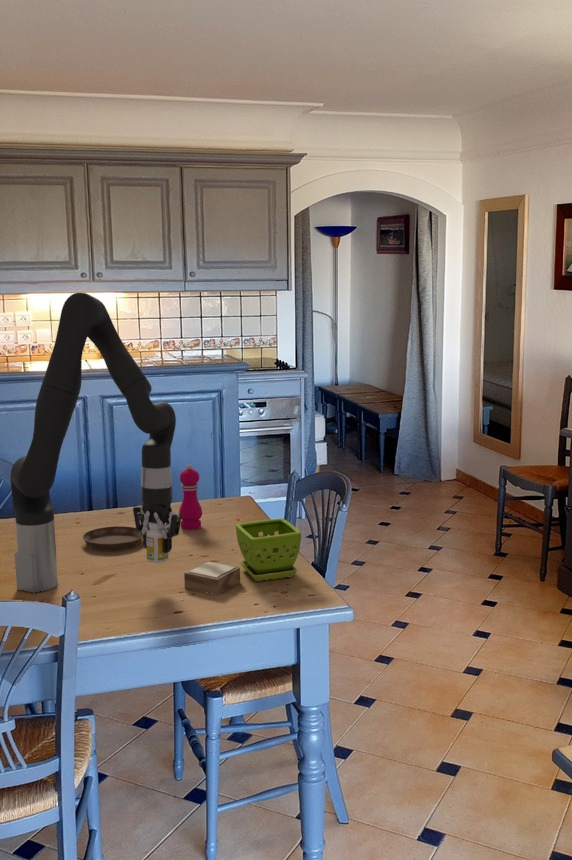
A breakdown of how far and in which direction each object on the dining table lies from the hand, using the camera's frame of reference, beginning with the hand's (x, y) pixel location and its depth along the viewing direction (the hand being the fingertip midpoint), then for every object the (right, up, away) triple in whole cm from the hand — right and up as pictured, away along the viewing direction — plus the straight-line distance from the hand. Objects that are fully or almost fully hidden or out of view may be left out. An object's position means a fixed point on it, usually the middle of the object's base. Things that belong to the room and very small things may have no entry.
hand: (157, 549), depth 215 cm
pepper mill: (+3, 0, +53) cm, 53 cm away
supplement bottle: (0, -3, 0) cm, 3 cm away
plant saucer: (-18, -4, +38) cm, 42 cm away
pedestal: (+13, -9, +3) cm, 17 cm away
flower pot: (+27, -8, +11) cm, 31 cm away
